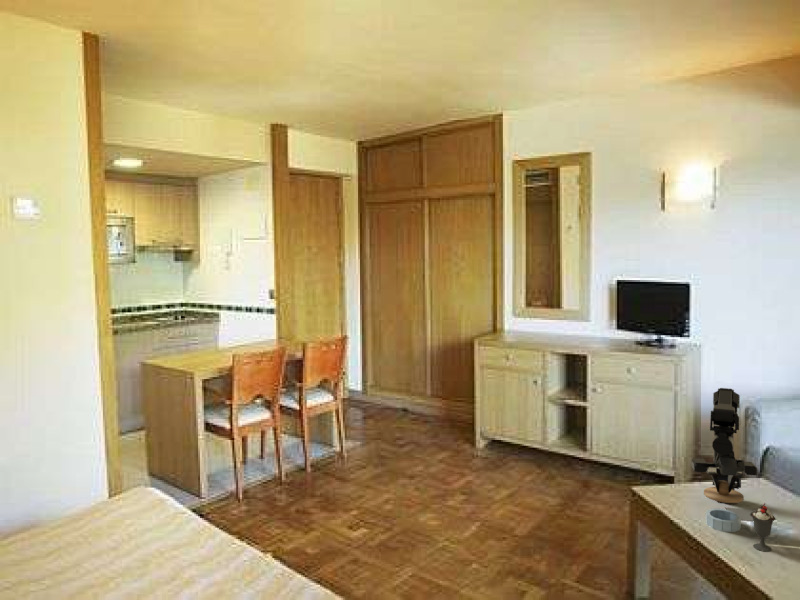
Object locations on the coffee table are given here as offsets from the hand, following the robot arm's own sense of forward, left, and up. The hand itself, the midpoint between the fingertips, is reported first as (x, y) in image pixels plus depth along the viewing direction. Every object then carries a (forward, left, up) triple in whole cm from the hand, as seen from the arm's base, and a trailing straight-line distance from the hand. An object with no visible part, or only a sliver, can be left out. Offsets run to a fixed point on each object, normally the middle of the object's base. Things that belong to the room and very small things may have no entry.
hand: (723, 491), depth 193 cm
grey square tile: (-10, +9, -12) cm, 18 cm away
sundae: (+13, +8, -12) cm, 19 cm away
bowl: (0, 0, -12) cm, 12 cm away
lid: (0, 0, -1) cm, 1 cm away
